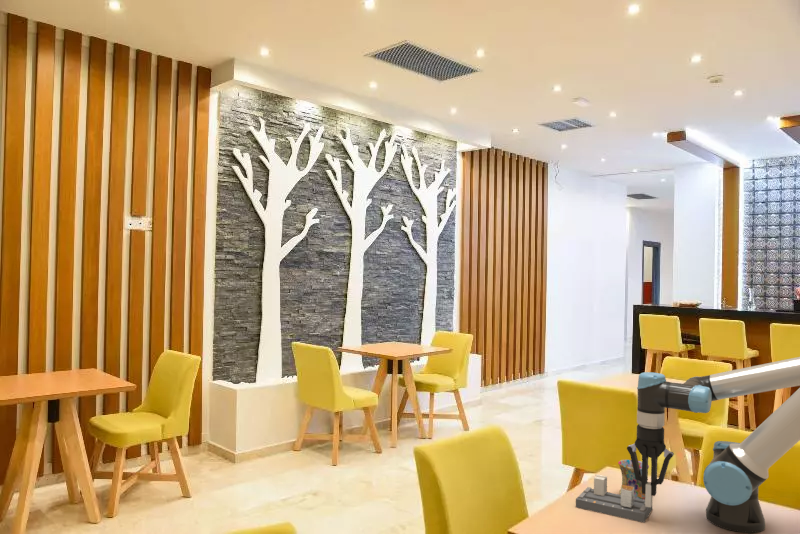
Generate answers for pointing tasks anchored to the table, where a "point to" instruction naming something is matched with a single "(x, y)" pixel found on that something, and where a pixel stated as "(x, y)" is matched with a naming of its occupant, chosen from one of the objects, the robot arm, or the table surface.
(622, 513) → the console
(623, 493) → the fader
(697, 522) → the table surface
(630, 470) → the mug
